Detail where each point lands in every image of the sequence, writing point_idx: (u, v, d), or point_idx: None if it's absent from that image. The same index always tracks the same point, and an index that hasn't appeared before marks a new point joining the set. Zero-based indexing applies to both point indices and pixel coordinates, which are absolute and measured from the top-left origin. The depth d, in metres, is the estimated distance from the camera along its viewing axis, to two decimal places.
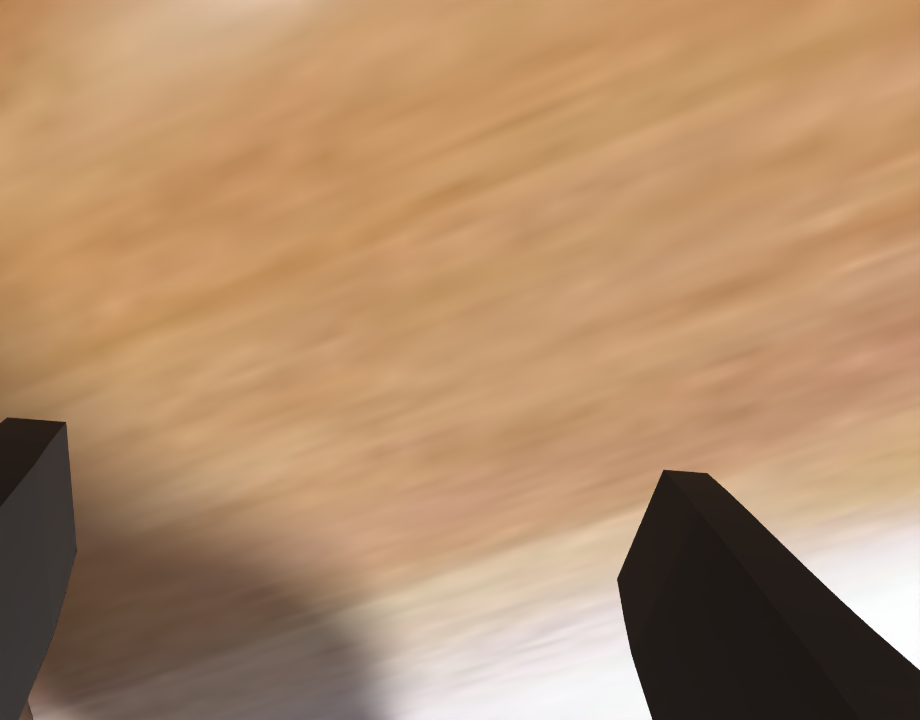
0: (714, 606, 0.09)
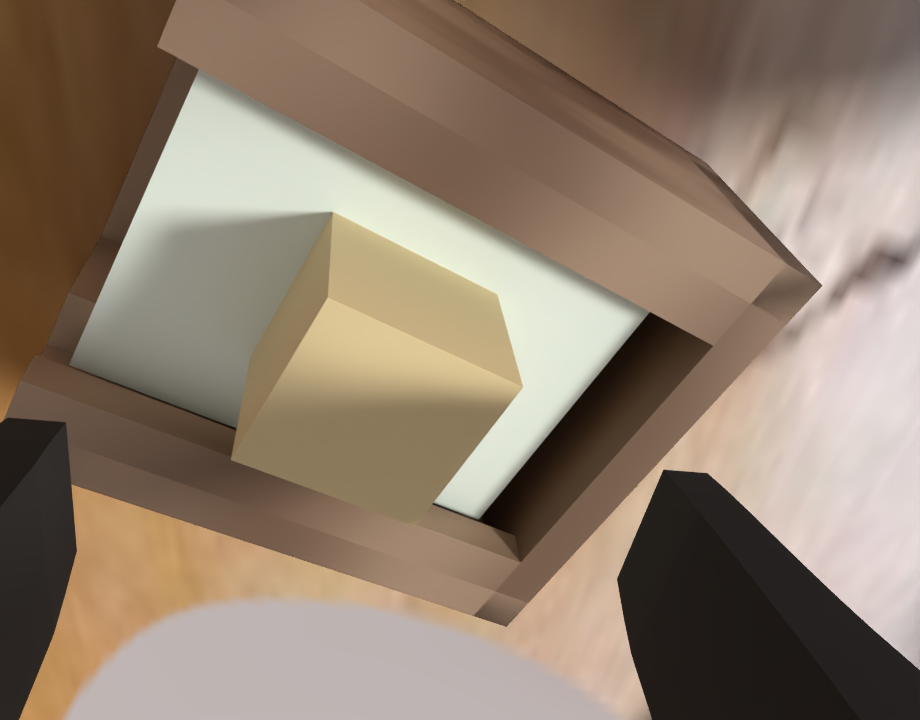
0: (715, 605, 0.09)
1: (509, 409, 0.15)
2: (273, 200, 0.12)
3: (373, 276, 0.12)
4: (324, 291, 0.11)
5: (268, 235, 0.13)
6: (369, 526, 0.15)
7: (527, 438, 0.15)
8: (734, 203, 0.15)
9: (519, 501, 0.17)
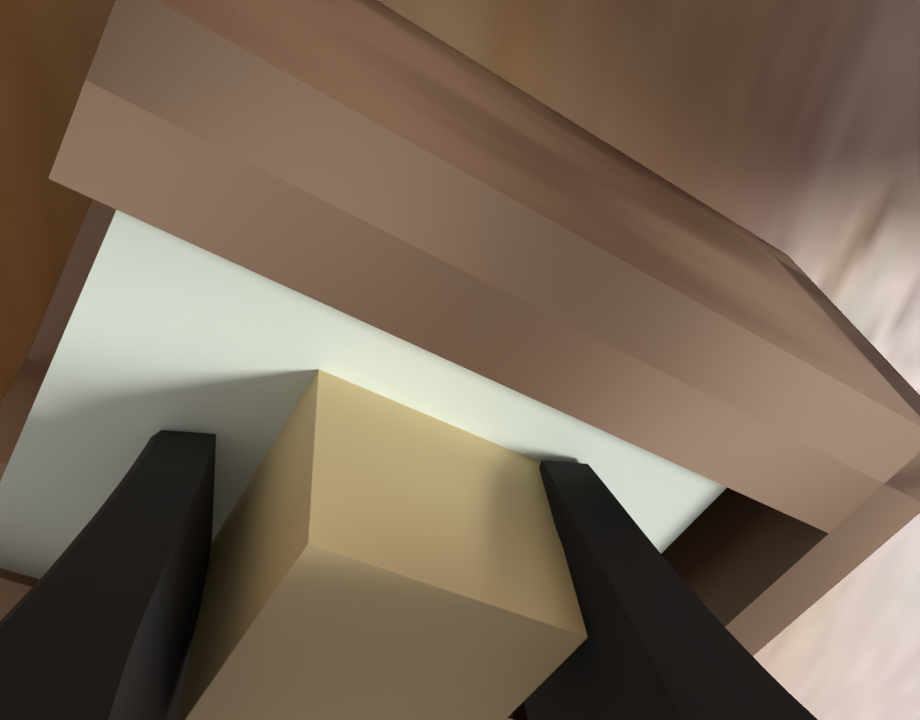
0: None
1: None
2: (236, 357, 0.09)
3: (374, 479, 0.08)
4: (304, 521, 0.07)
5: (230, 400, 0.09)
6: None
7: None
8: (841, 326, 0.11)
9: None
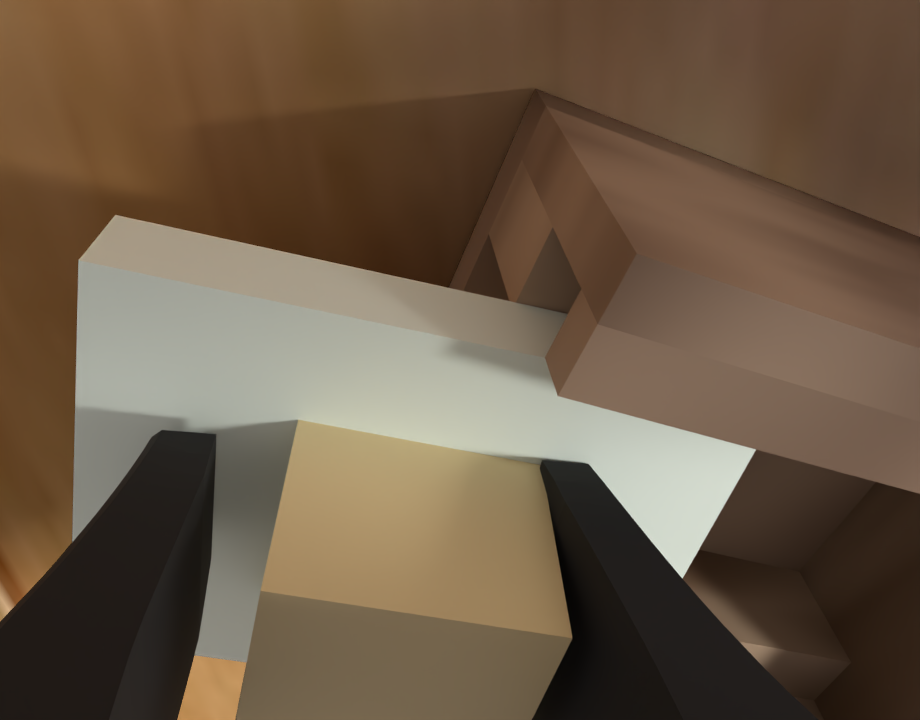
0: (576, 599, 0.09)
1: None
2: (222, 424, 0.10)
3: (342, 517, 0.09)
4: None
5: (232, 462, 0.10)
6: None
7: None
8: None
9: (877, 702, 0.15)
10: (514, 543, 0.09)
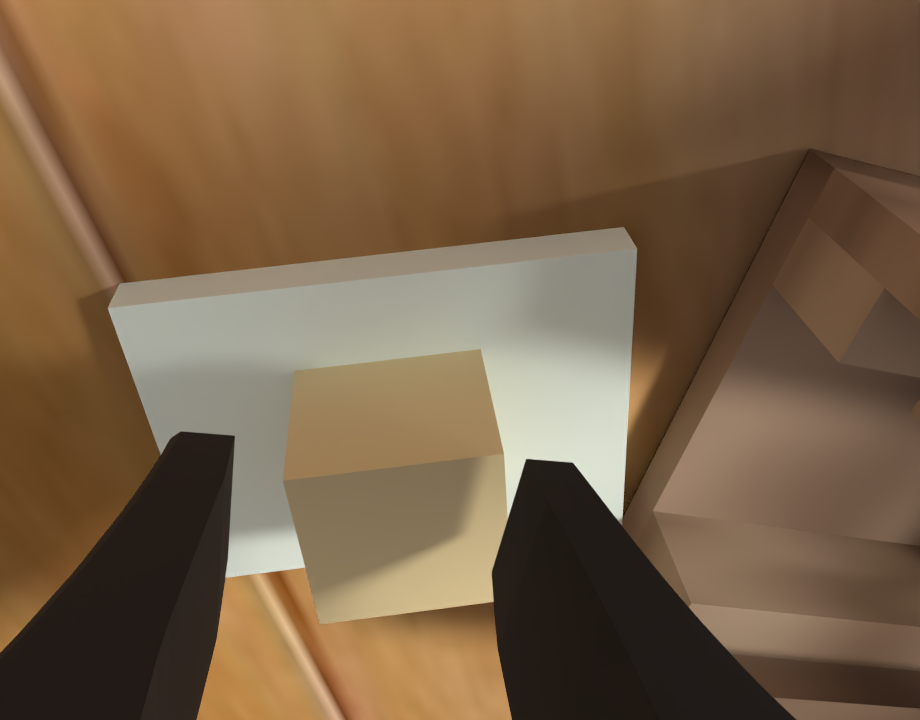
0: (557, 598, 0.09)
1: (572, 429, 0.15)
2: (245, 390, 0.13)
3: (333, 423, 0.12)
4: None
5: (263, 416, 0.14)
6: None
7: (610, 441, 0.15)
8: None
9: None
10: (460, 406, 0.12)
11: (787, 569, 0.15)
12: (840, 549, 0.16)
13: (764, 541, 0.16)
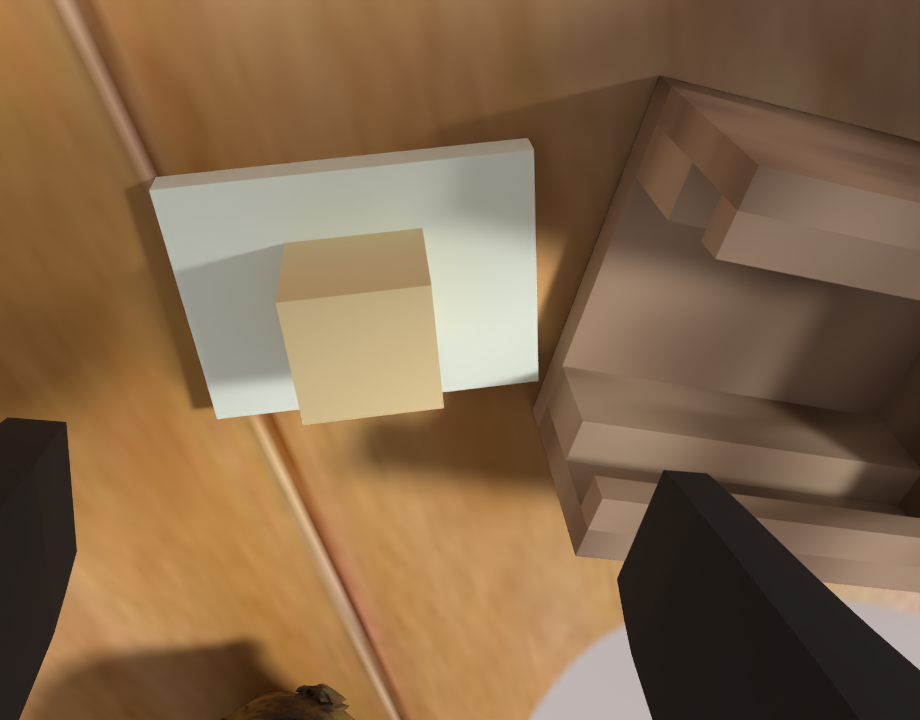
0: (715, 606, 0.09)
1: (494, 295, 0.19)
2: (248, 258, 0.18)
3: (312, 271, 0.17)
4: None
5: (261, 279, 0.18)
6: (848, 543, 0.19)
7: (524, 307, 0.20)
8: None
9: None
10: (403, 260, 0.17)
11: (664, 407, 0.20)
12: (711, 398, 0.21)
13: (649, 389, 0.21)
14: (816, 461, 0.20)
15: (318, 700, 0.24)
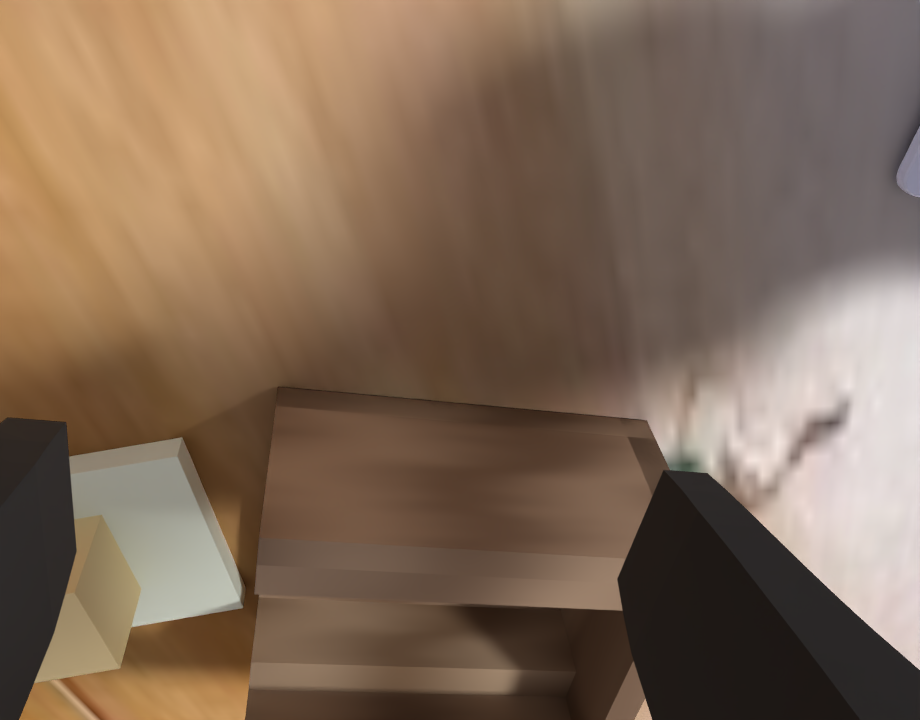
0: (715, 606, 0.09)
1: (181, 553, 0.23)
2: None
3: None
4: None
5: None
6: None
7: (210, 559, 0.23)
8: (654, 487, 0.21)
9: (583, 697, 0.23)
10: None
11: (340, 632, 0.24)
12: (394, 614, 0.25)
13: (335, 613, 0.24)
14: (474, 672, 0.24)
15: None
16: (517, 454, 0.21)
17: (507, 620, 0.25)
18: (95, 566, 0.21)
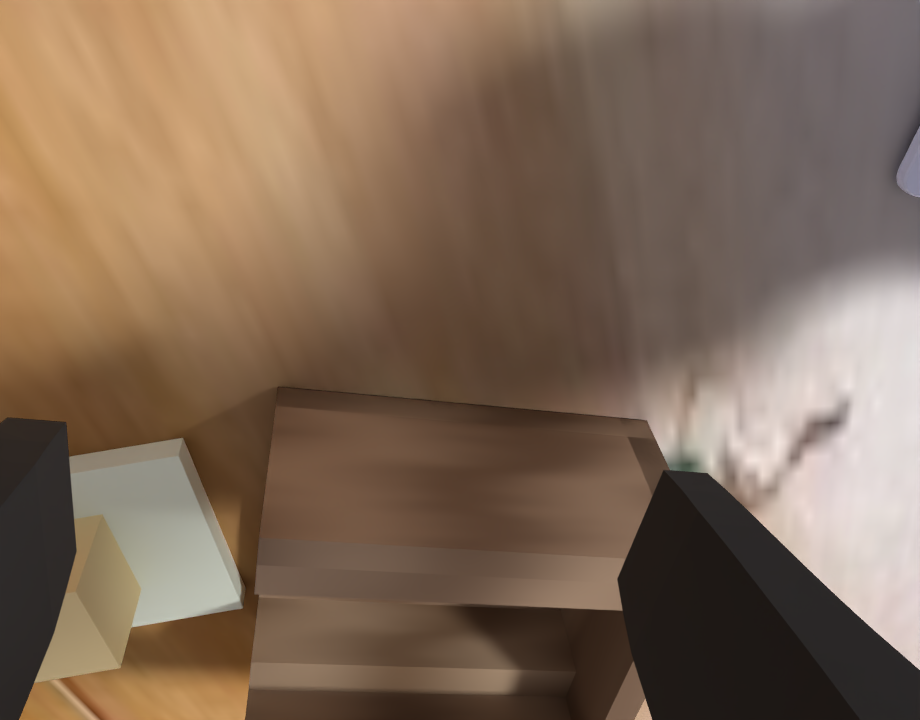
0: (715, 606, 0.09)
1: (181, 553, 0.23)
2: None
3: None
4: None
5: None
6: None
7: (211, 559, 0.23)
8: (654, 487, 0.21)
9: (583, 697, 0.23)
10: None
11: (340, 632, 0.24)
12: (394, 614, 0.25)
13: (335, 613, 0.24)
14: (474, 672, 0.24)
15: None
16: (517, 454, 0.21)
17: (507, 620, 0.25)
18: (96, 565, 0.21)
